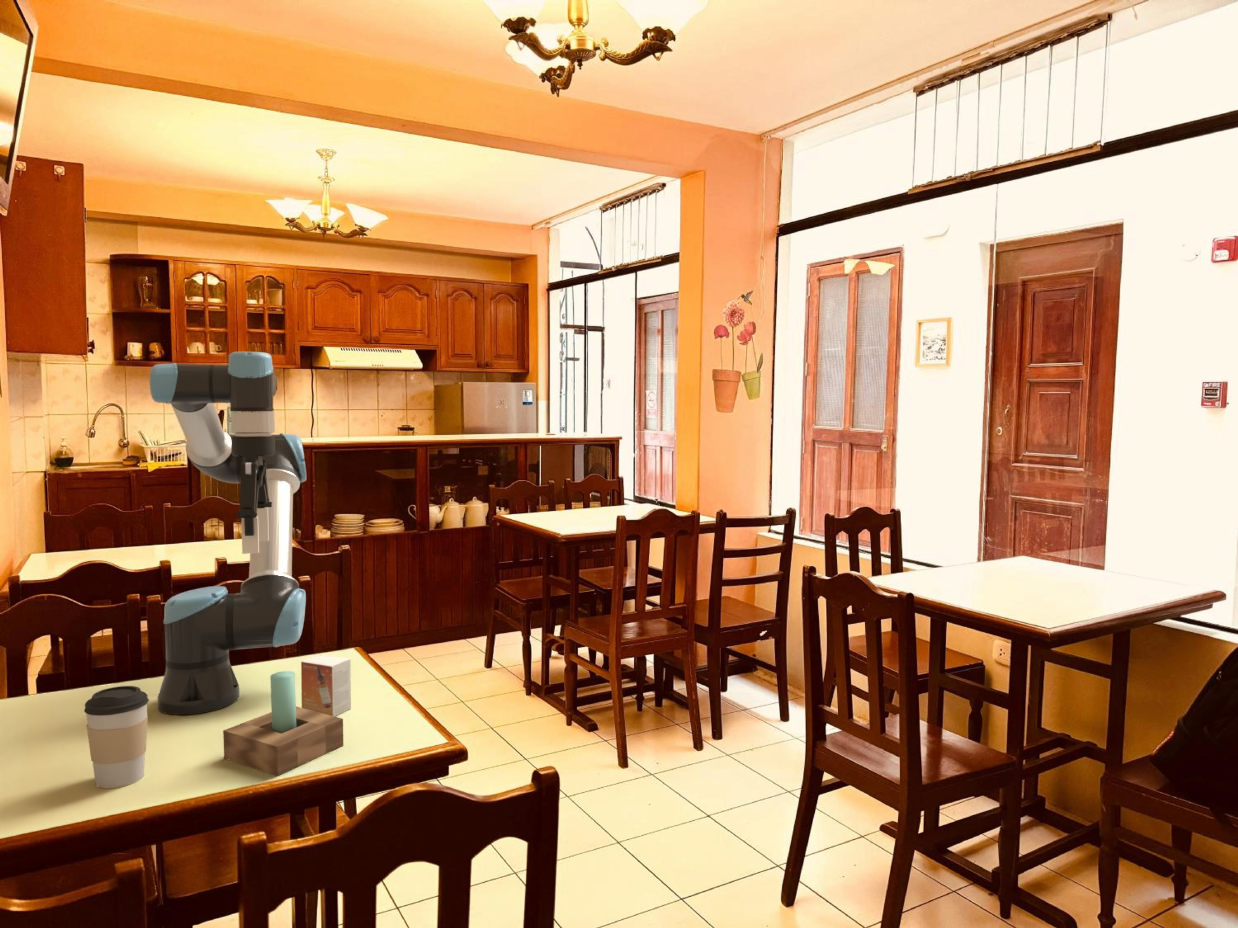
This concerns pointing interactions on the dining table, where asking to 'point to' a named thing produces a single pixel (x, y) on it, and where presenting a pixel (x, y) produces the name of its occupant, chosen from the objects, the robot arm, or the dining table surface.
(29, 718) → the dining table surface
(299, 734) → the socket
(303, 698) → the small box
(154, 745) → the dining table surface
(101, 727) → the coffee cup
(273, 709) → the peg
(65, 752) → the dining table surface
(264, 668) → the dining table surface
